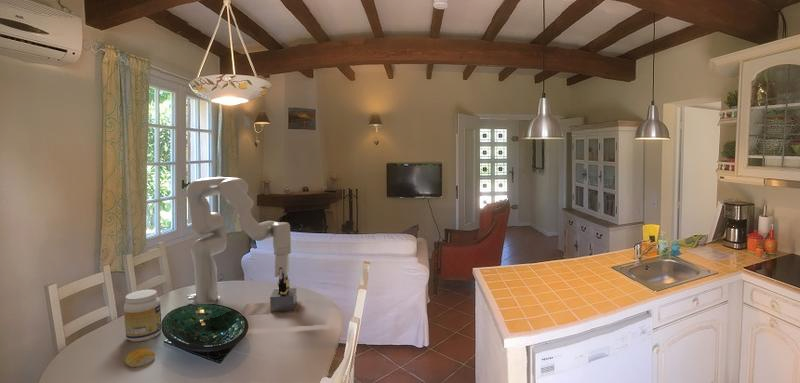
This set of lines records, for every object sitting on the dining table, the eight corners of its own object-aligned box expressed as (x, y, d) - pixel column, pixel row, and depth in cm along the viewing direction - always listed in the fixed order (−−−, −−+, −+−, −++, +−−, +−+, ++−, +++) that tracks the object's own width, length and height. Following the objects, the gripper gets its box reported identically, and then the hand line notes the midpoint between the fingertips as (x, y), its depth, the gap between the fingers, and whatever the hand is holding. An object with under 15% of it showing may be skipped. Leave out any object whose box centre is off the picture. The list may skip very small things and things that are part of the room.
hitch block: (270, 312, 174) (270, 297, 173) (274, 303, 184) (274, 289, 183) (293, 311, 175) (293, 296, 174) (296, 302, 185) (296, 288, 184)
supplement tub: (164, 336, 155) (161, 294, 153) (126, 346, 147) (123, 302, 145) (160, 325, 164) (157, 286, 162) (124, 333, 157) (121, 292, 155)
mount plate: (239, 318, 171) (238, 315, 171) (246, 306, 184) (246, 303, 184) (298, 315, 174) (298, 312, 174) (301, 304, 187) (301, 301, 187)
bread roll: (146, 352, 143) (145, 342, 142) (159, 359, 138) (158, 348, 138) (120, 363, 136) (119, 352, 135) (133, 370, 131) (132, 359, 131)
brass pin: (277, 303, 176) (276, 282, 175) (279, 299, 181) (278, 279, 180) (289, 302, 177) (288, 282, 176) (290, 298, 182) (290, 278, 181)
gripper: (276, 245, 185) (278, 283, 186) (269, 255, 168) (271, 296, 170) (293, 245, 186) (294, 282, 187) (287, 254, 169) (289, 295, 171)
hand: (283, 288), depth 179 cm, fingers closed on brass pin, 5 cm apart
